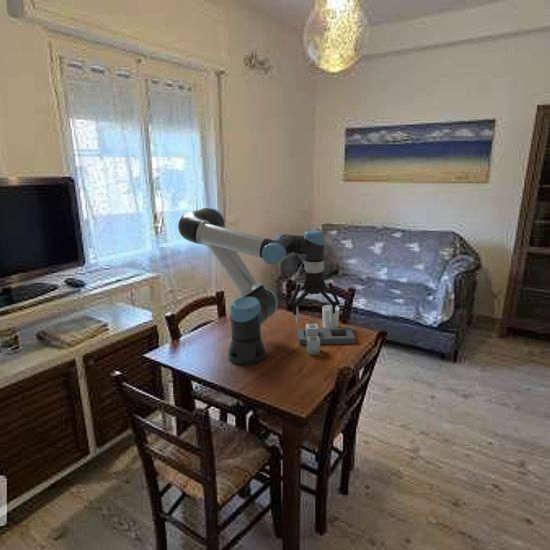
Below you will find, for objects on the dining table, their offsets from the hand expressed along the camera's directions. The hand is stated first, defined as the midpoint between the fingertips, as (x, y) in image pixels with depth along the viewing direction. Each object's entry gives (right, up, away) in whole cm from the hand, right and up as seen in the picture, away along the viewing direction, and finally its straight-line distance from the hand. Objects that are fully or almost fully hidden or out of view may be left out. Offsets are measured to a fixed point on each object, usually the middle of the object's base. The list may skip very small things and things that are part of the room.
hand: (314, 321), depth 161 cm
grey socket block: (+7, -9, +16) cm, 19 cm away
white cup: (+10, -6, +26) cm, 29 cm away
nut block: (0, -13, +4) cm, 14 cm away
